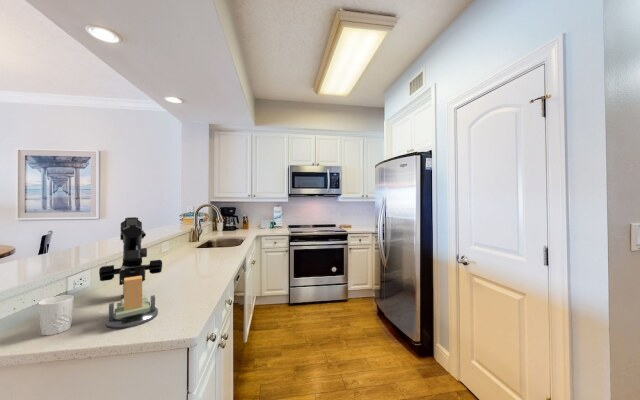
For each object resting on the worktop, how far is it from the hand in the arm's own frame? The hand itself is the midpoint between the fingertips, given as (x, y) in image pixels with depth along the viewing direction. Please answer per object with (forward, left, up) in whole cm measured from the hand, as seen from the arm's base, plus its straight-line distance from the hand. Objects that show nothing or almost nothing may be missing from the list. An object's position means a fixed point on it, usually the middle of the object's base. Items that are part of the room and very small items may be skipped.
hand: (132, 289), depth 90 cm
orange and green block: (+1, 0, -6) cm, 6 cm away
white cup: (-7, -19, -10) cm, 22 cm away
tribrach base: (+1, 0, -10) cm, 10 cm away
